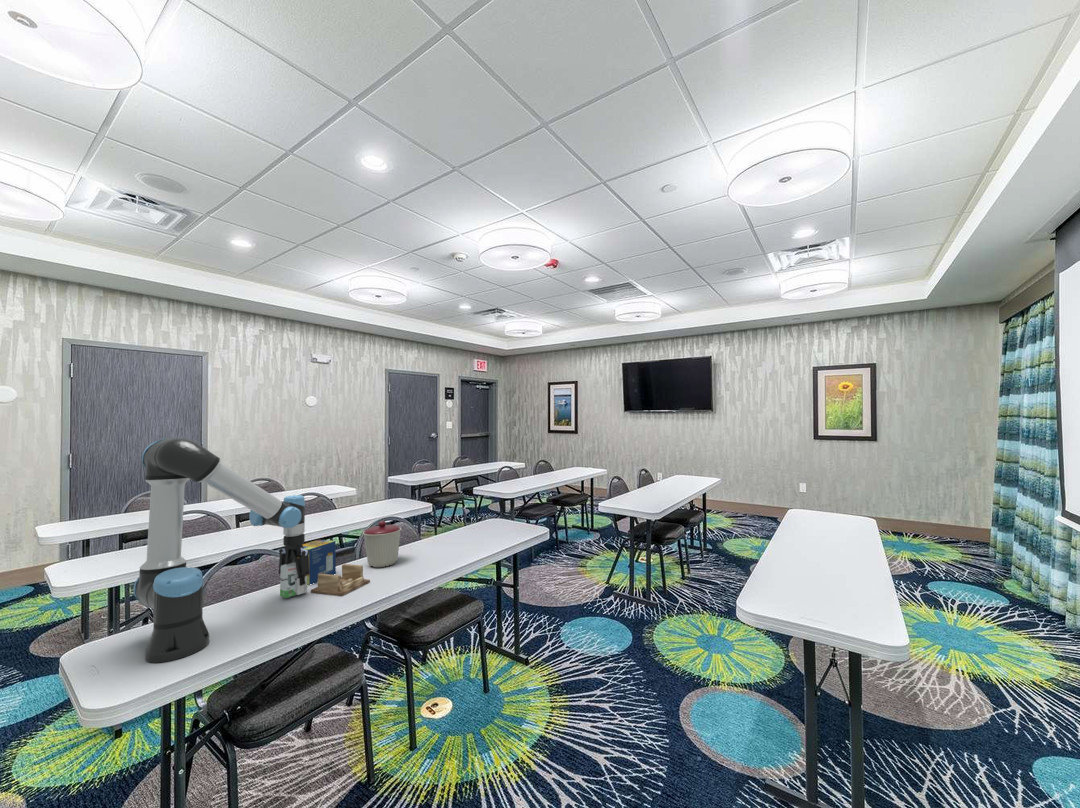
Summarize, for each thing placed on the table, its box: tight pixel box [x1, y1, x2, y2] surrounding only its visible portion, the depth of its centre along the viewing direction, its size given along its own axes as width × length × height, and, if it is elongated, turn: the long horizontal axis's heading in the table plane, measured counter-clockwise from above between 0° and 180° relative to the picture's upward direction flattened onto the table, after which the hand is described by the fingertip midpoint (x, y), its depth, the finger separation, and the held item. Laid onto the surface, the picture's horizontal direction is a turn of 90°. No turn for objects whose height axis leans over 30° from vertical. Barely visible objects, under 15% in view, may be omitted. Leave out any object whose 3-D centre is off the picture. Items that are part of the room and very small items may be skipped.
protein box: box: [292, 539, 337, 586], centre depth 197 cm, size 10×15×16 cm
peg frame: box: [310, 563, 371, 597], centre depth 184 cm, size 16×16×7 cm
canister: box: [362, 520, 402, 568], centre depth 215 cm, size 18×18×21 cm
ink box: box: [279, 562, 308, 599], centre depth 177 cm, size 9×5×12 cm, turn 141°
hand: (293, 592), depth 176 cm, fingers closed on ink box, 6 cm apart
